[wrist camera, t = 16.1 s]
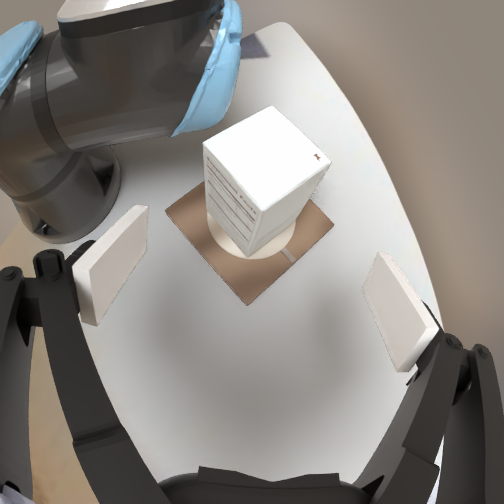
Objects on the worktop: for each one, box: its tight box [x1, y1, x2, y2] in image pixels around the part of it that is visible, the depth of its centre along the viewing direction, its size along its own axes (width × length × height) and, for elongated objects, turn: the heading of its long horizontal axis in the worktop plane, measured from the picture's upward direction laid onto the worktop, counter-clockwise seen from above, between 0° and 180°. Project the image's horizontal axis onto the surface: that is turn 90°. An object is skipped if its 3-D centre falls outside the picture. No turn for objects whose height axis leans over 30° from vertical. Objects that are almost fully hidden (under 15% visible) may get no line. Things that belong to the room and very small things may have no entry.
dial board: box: [165, 181, 334, 306], centre depth 34 cm, size 14×14×1 cm
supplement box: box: [203, 106, 332, 258], centre depth 27 cm, size 7×7×13 cm
